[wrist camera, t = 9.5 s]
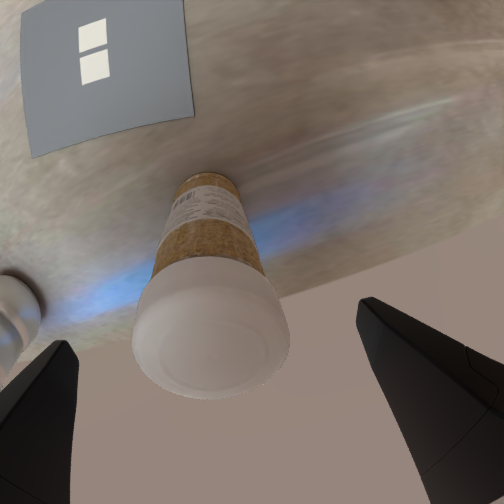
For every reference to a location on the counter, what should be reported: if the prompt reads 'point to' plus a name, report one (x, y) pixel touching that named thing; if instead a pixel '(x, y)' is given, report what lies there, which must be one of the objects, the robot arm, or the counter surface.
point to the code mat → (101, 68)
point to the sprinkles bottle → (209, 300)
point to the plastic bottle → (16, 321)
